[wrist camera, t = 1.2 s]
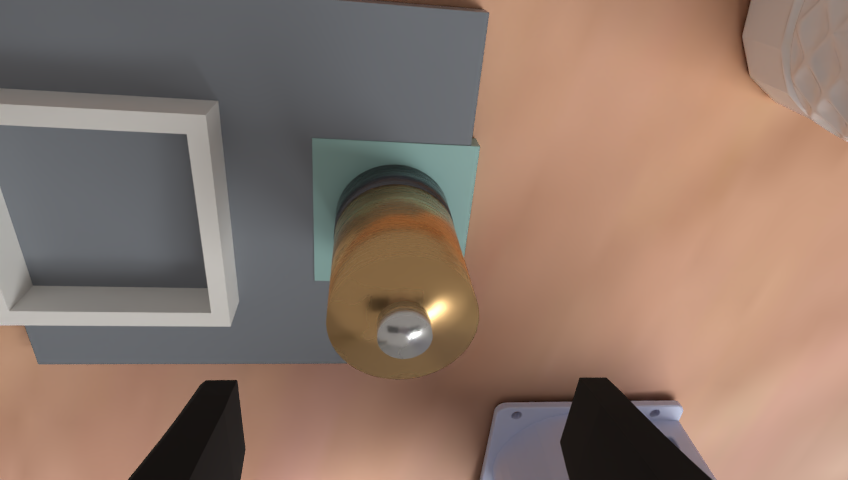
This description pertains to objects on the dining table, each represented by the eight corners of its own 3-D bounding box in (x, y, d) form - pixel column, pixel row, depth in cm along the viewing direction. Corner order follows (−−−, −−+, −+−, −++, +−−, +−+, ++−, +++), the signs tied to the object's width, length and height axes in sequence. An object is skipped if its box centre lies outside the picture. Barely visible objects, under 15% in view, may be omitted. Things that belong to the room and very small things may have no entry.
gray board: (493, 10, 17) (510, 20, 15) (445, 350, 24) (453, 388, 22) (-83, -38, 15) (-153, -33, 13) (48, 350, 22) (16, 392, 20)
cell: (454, 166, 18) (495, 272, 13) (442, 265, 20) (472, 394, 15) (336, 161, 18) (323, 269, 12) (335, 263, 20) (323, 396, 14)
